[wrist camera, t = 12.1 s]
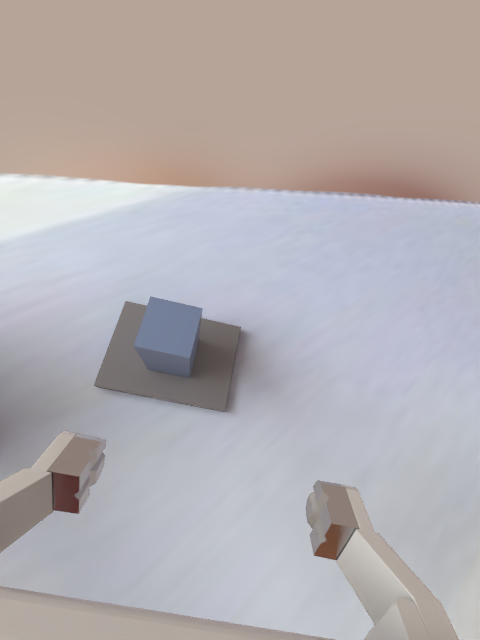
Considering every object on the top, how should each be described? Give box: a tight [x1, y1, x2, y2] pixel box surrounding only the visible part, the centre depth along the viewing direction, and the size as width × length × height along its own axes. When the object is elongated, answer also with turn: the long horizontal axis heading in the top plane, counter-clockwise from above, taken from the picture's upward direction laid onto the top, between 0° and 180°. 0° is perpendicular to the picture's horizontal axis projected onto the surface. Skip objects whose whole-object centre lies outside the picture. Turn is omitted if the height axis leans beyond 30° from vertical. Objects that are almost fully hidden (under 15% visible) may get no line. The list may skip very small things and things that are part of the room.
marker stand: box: [94, 301, 241, 412], centre depth 29 cm, size 14×10×8 cm
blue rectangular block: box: [134, 297, 202, 378], centre depth 28 cm, size 5×5×9 cm
